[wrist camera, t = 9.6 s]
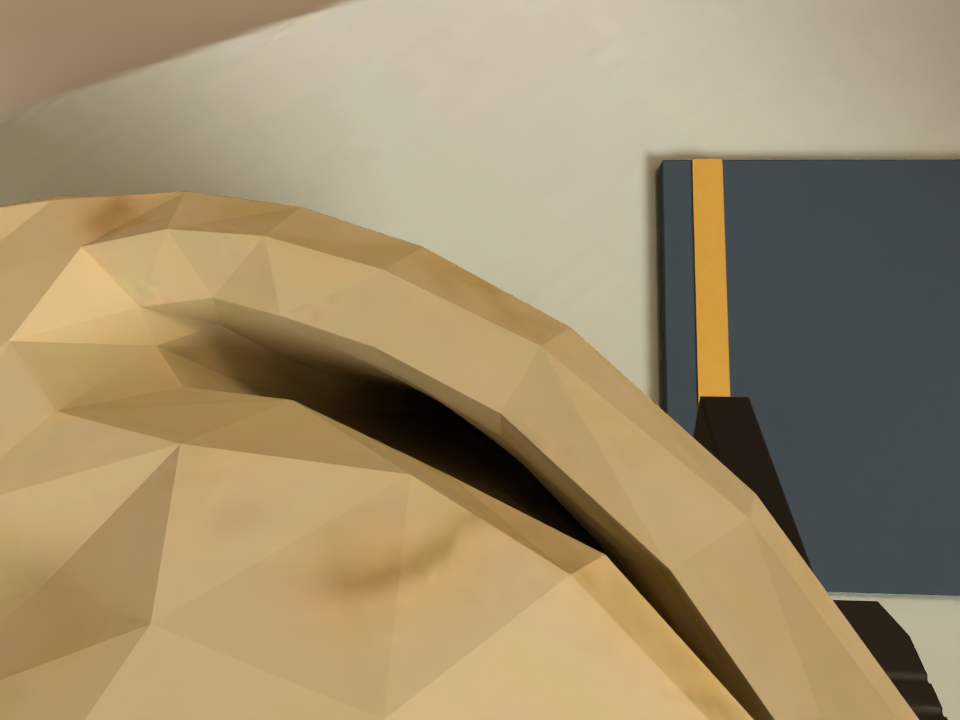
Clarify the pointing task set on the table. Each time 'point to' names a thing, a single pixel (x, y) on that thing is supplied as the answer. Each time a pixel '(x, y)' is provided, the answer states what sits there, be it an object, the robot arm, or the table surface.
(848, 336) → the towel
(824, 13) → the table surface
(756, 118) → the table surface
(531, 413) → the food model
